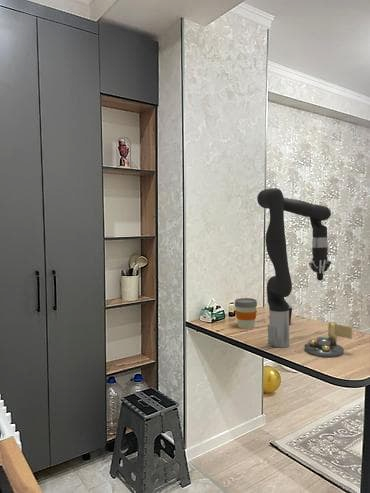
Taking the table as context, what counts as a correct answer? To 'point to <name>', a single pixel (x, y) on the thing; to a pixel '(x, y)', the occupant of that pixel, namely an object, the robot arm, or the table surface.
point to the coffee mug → (290, 314)
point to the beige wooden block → (338, 332)
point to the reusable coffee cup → (246, 312)
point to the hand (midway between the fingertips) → (320, 280)
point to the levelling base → (321, 354)
